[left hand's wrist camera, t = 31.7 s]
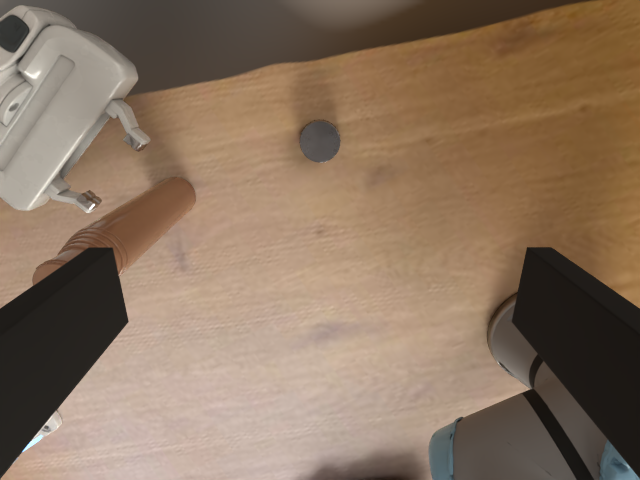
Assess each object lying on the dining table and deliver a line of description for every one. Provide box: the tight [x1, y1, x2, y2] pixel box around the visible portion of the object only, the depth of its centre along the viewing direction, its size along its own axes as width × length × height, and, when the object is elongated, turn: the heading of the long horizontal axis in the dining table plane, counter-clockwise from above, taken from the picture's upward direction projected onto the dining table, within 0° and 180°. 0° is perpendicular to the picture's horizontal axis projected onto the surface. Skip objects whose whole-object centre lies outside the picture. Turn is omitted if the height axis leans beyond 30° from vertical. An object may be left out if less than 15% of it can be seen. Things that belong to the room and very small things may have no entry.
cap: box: [300, 120, 340, 162], centre depth 46 cm, size 5×5×2 cm
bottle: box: [33, 177, 196, 286], centre depth 38 cm, size 5×5×24 cm
